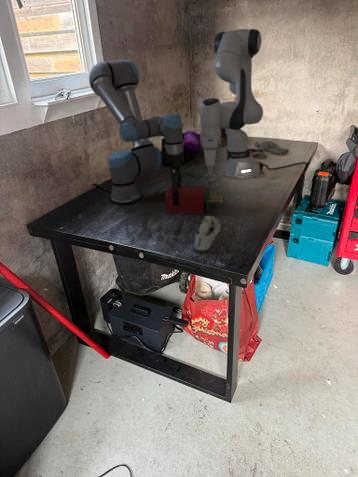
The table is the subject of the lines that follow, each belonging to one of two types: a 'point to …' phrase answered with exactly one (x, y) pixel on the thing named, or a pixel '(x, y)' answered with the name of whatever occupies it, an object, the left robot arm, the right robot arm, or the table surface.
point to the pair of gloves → (267, 149)
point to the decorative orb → (192, 141)
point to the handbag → (163, 153)
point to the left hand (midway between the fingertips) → (177, 199)
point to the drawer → (212, 200)
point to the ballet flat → (206, 233)
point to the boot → (223, 137)
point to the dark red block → (186, 200)
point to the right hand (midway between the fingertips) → (210, 171)
